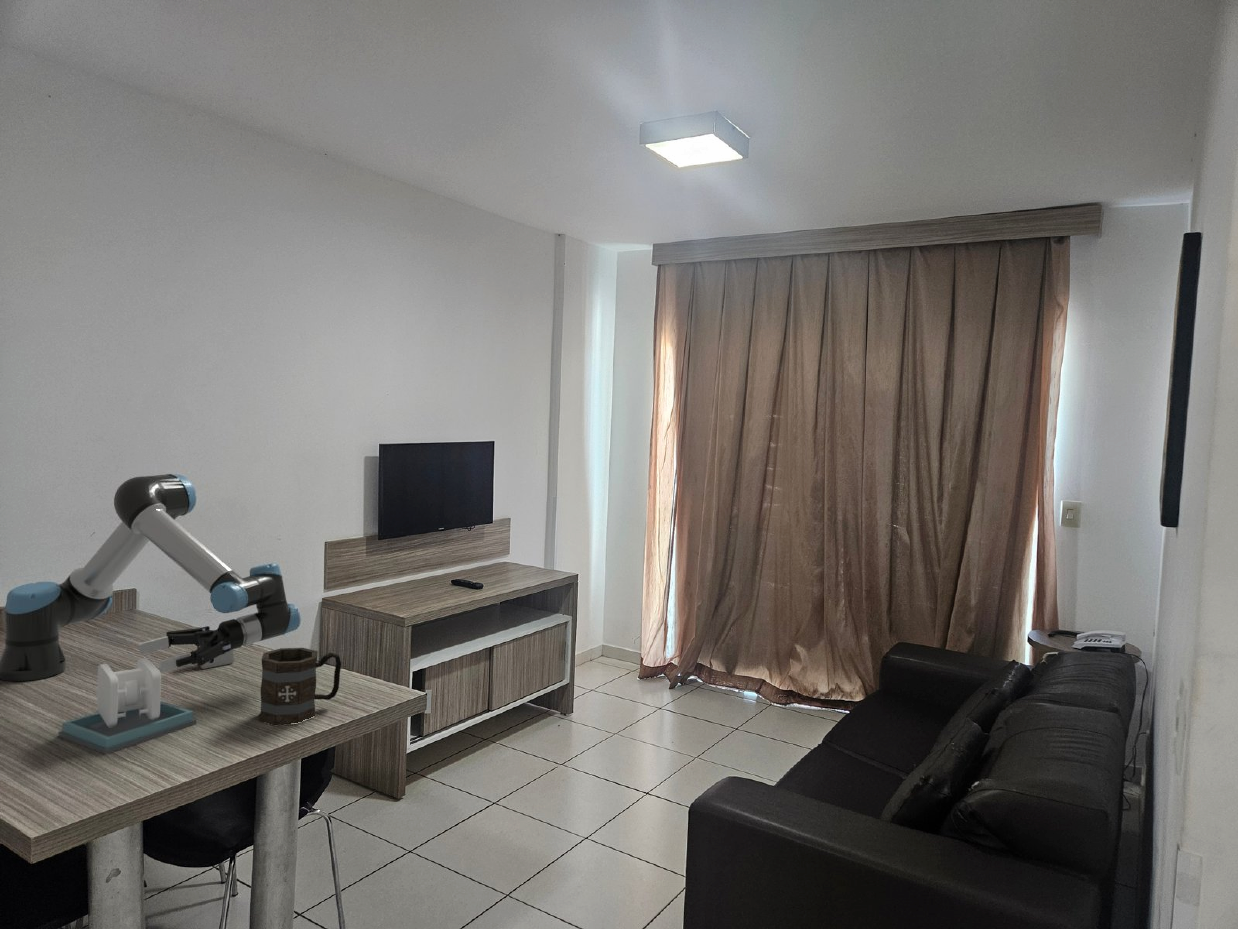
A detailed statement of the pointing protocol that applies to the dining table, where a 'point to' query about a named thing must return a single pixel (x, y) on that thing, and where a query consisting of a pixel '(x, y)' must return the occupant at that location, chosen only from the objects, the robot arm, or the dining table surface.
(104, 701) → the white spool piece
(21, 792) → the dining table surface
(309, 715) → the mug
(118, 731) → the teal tray
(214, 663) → the electrical switch
